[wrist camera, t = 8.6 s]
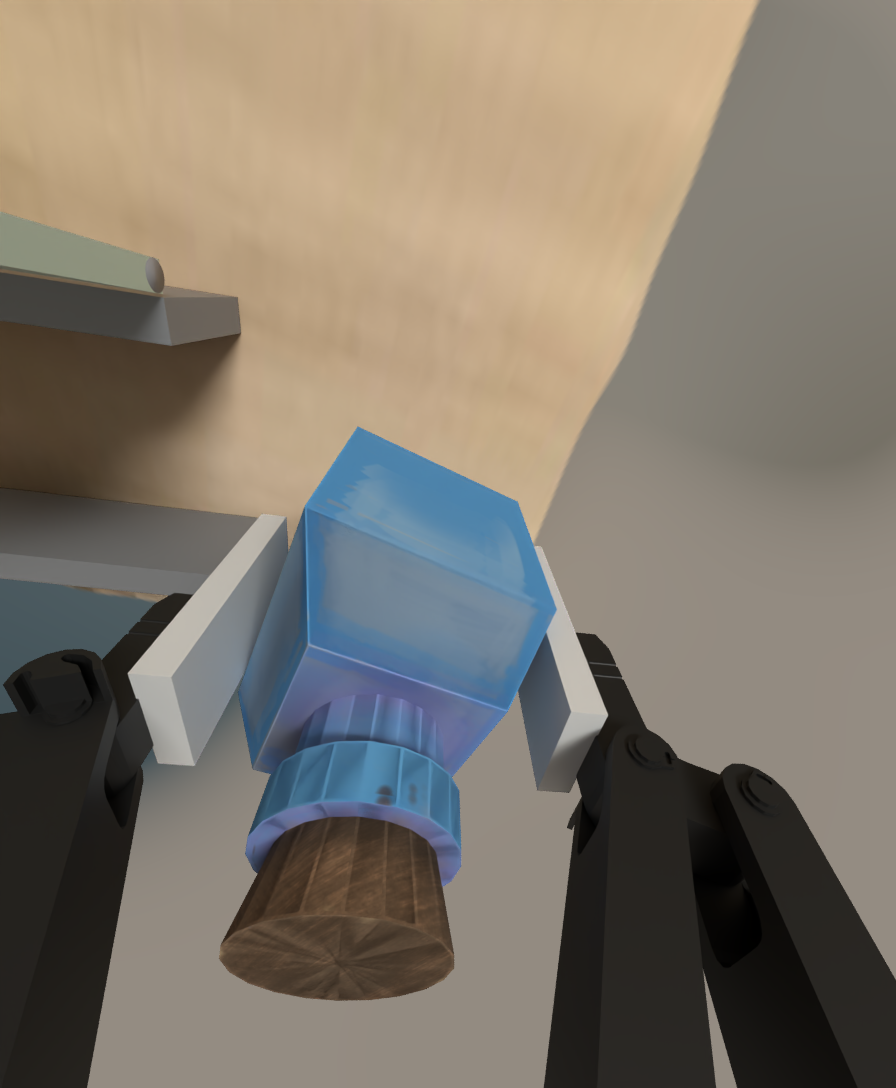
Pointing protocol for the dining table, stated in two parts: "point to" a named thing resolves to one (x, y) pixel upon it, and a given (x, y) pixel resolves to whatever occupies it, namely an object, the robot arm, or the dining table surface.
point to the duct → (101, 525)
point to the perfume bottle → (377, 719)
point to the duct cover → (74, 257)
